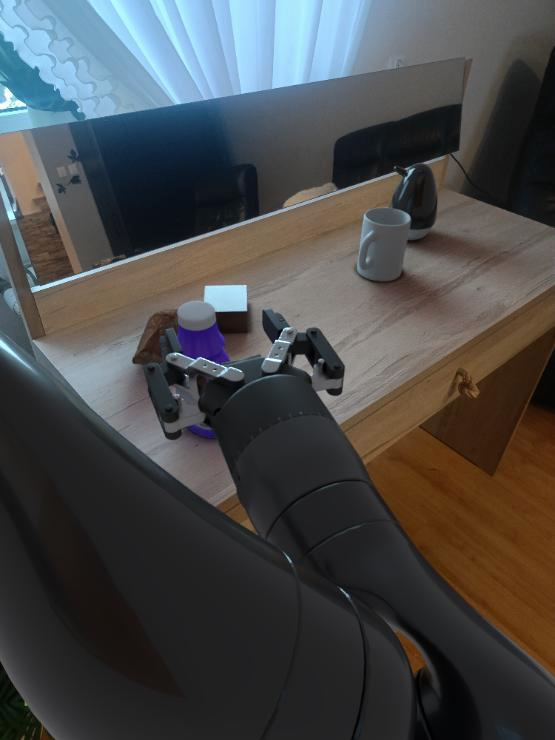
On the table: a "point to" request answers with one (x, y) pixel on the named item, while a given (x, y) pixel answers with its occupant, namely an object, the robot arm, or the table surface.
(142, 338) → the fossil
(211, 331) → the bottle
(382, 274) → the mug
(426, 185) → the pump dispenser
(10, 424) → the robot arm
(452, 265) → the table surface
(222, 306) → the walnut block
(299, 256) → the table surface
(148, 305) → the table surface
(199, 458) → the table surface
